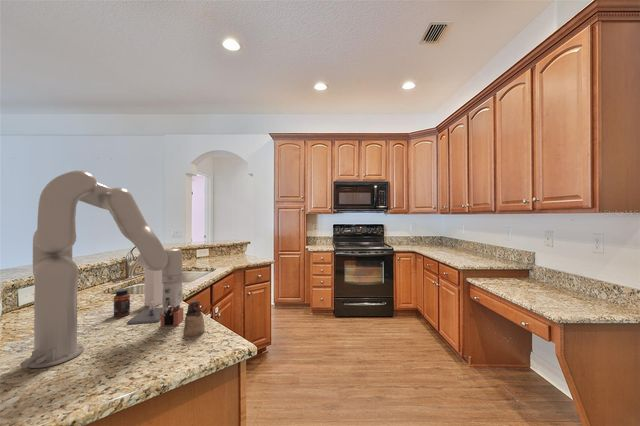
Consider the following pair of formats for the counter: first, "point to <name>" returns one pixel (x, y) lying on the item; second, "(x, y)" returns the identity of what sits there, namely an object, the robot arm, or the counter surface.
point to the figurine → (194, 320)
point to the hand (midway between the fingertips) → (172, 320)
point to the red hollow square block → (174, 316)
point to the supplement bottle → (121, 303)
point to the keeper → (147, 315)
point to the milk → (153, 287)
